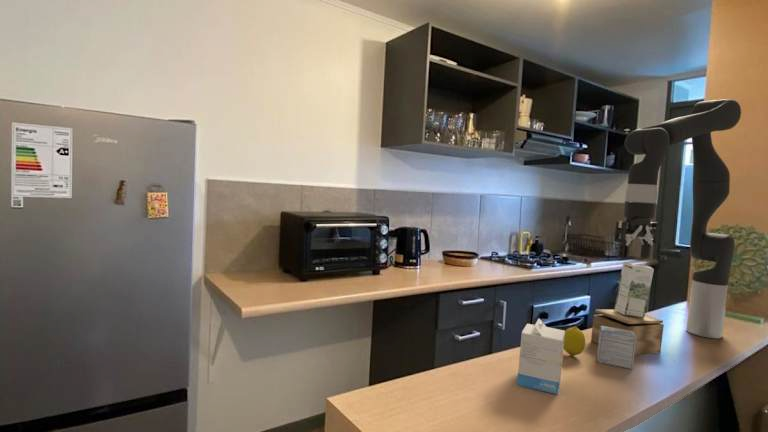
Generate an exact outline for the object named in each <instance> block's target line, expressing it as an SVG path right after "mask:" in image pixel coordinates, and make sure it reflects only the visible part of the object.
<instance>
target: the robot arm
mask: <svg viewBox="0 0 768 432" xmlns="http://www.w3.org/2000/svg"><path fill="white" fill-rule="evenodd" d="M741 116H742V108H741V105H740V104H739V102H738V101H736V100H734V99H730V98H726V99H725V98H723V99H714V100H713V99H712V100H705V101H704V100H703V101H699V102H697V103H695V104H694V106H693V107H692V108H691V112H690V114H689V115H684V116H679V117H675V118H671V119H669V120H666V121H663V122H660V123H659V124H655V125H651V126H645V127H641V128H637V129H635V130H632V131H631V132H629V134H627V136H626V137H625V139H624V148H625V149H626V151H627V152H628V153H629V154H632V155H635V156H636V155H637V156H641V155H644V157H643V158H642V160H641V161H640V162H636V163H633V164H631V165H630V166H629V170H628V174H627V175H628V178H627V186H626V190H625V194H624V195H625V196H624V204H623V206H624V207H623V216H624V217H625V218H626V219H625V220H617V221H616V224H615V225H616V226H615V231H614V232H615V233H614V237H613V242H615V243H618V245H619V249H618V251H619V252H618V256H619V258H620V259H623V260H627V259H629V255H630V254H629V253H630V244H631V242H632V241H633V240H635V239H636V238H638V239H640V242H641V243H642V244H641V247H640V249H641V250H640V258H642V259H645V260H646V259H650V257H651V250H652V246H653V245H654V244H657V243H658V240H659V226H660V225H659V224H660V223H659V222H657V221H655V222H654V221H651V220H654V219H655V217H656V210H657V209H656V207H657V200H658V199H657V197H658V186H657V185H658V179H659V172H660V171H659V170H660V168H661V166H662V163H663V161H664V159H665V156H666V153H667V151H668V149H669V147H671V146H674V145H677V144H679V143H682V142H684V141H687V140H689V139H691V142H692V145H691V146H692V163H693V164H692V167H693V168H692V223H691V232H690V240H689V241H690V242H689V243H690V244H689V249H690V250H689V251H690V255H691V257H692V258H693V259H696V260H698V261H699V260H700V261H706V262H712V263H713V262H714V263H715V265H714V266H713V267H711V268H709V269H702V270H701V269H700V270H695V271H694V272H692V279H691V287H690V296H689V297H690V298H689V305H688V314H687V319H686V320H687V322H686V332H688V333H690V334H692V335H695V336H699V337H703V338H708V339H721V338H722V336H723V334H724V326H725V318H726V316H725V315H726V311H727V308H726V305H727V304H726V303H727V294H728V288H729V280H730V275H731V269H732V264H733V258H734V253H735V247H736V245H735V244H736V243H735V239H734V237H733V236H732V235H730V234H725V233H723V234H722V233H715V232H707V226H708V223H709V221H710V219H711V218H712V216H713V215H714V213H716V211H717V210H718V209H719V208H720V207H721V205H722V204H723V203H724V202H725V201H727V198H728V196H729V195H730V185H731V177H730V176H731V175H730V171H729V170H730V169H729V168H728V167H727V165H726V163H725V162H724V160H723V159H722V158H721V156H720V155H719V154H718V152H717V151H716V149H715V147H714V144H713V141H712V133H713V132H723V131H727V130H731V129H733V128H734V127H735V126H737V124H738V123H739V122H740V119H741ZM652 235H653V236H652Z"/></svg>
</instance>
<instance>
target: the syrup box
mask: <svg viewBox="0 0 768 432" xmlns="http://www.w3.org/2000/svg"><path fill="white" fill-rule="evenodd" d="M654 270H655V269H654V268H653V267H651V266H650V265H646V264H645V265H644V264H638V263H629V262H625V261H624V262H623V263H622V266H621V272H620V277H619V282H618V289H617V294H616V298H615V299H616V300H615V304H614V309H615V311H617V312H619V313H621V314H623V315H627V316H633V317H639V318H644V317H645V315H646V311H647V306H648V301H649V295H650V292H651V286H652V281H653V276H654V272H655V271H654Z"/></svg>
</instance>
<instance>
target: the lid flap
mask: <svg viewBox="0 0 768 432" xmlns="http://www.w3.org/2000/svg"><path fill="white" fill-rule="evenodd" d="M594 313H597V314H599V315H600V314H603V315H605V316H608V317H611V318H614V319H616V320H619V321H622V322H625V323H628V324H642V323H661V324H663V322H664V320H662V319H659V318H656V317H652V316H650V315H647V314H645V317H644V318H639V317H633V316H627V315H623V314H621V313H619V312H617V311H615V309H612V308H611V309H606V308H605V309H604V308H603V309H595V311H594Z"/></svg>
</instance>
